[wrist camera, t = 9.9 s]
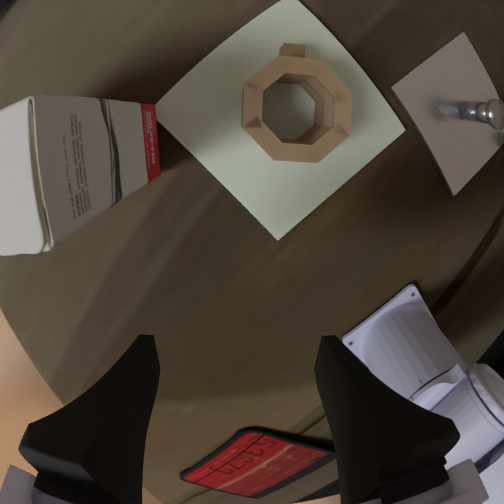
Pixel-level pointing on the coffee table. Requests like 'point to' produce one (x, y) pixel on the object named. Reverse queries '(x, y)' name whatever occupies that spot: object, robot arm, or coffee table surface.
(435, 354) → the robot arm
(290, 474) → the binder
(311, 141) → the collar
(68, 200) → the ink box
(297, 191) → the pad
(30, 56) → the coffee table surface
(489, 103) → the plate
